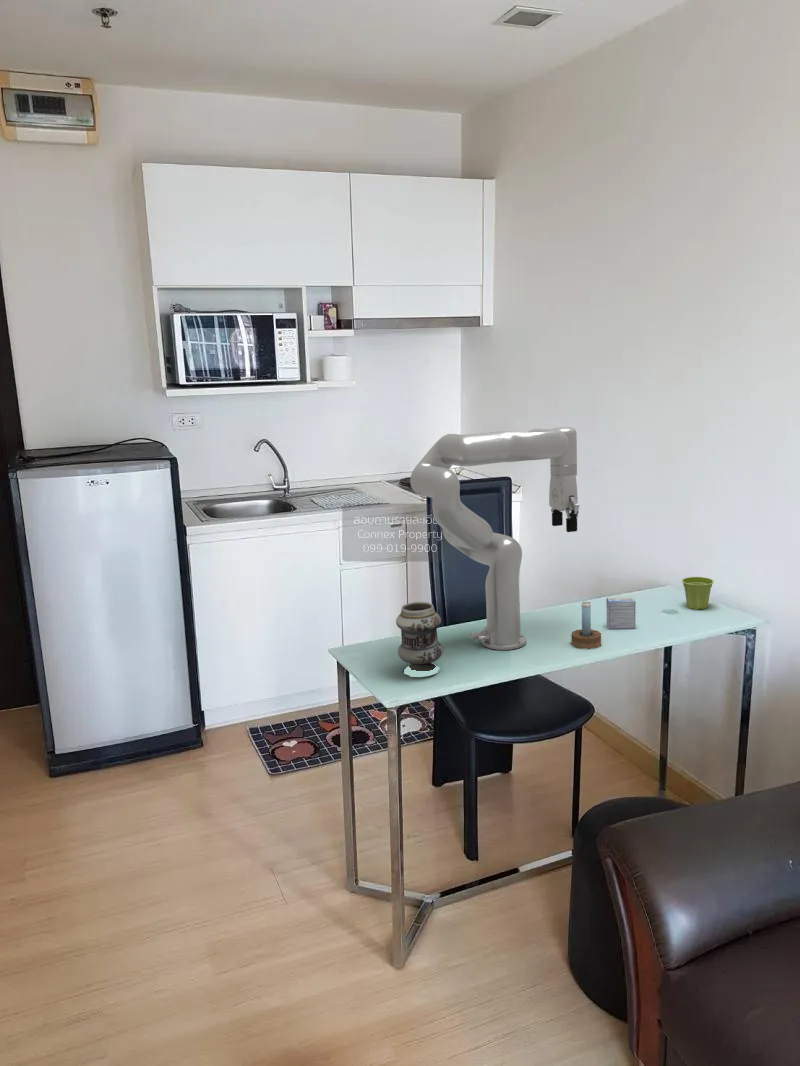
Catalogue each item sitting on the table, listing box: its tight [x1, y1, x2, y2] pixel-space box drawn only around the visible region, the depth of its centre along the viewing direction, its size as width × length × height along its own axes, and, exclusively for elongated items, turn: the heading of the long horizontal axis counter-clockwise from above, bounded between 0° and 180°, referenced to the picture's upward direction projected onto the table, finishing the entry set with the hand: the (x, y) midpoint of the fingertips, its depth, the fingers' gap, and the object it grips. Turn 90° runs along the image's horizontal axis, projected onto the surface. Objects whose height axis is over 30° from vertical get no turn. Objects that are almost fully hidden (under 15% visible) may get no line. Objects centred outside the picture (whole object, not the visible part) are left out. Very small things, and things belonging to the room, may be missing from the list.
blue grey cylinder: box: [581, 601, 592, 636], centre depth 227 cm, size 2×2×12 cm
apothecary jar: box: [395, 601, 444, 671], centre depth 213 cm, size 12×12×18 cm
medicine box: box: [605, 596, 637, 630], centre depth 240 cm, size 8×4×9 cm, turn 84°
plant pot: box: [681, 576, 714, 610], centre depth 255 cm, size 9×9×9 cm
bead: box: [570, 628, 602, 650], centre depth 228 cm, size 8×8×3 cm
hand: (564, 528), depth 237 cm, fingers open, 9 cm apart
